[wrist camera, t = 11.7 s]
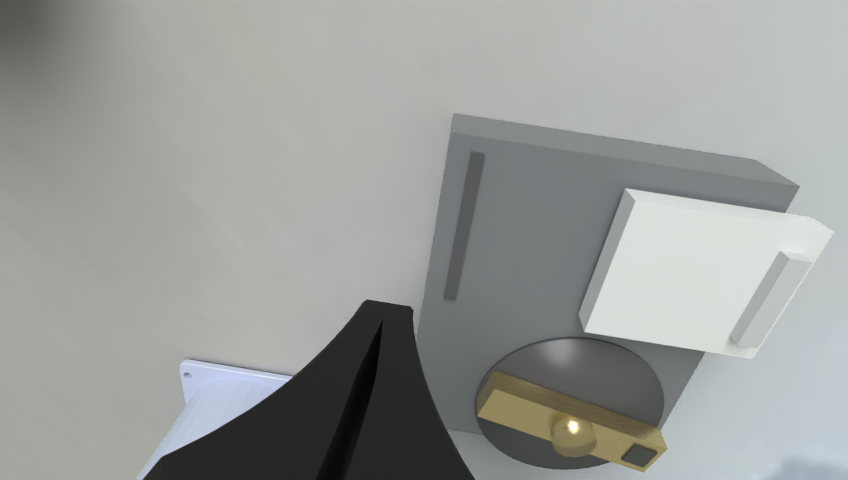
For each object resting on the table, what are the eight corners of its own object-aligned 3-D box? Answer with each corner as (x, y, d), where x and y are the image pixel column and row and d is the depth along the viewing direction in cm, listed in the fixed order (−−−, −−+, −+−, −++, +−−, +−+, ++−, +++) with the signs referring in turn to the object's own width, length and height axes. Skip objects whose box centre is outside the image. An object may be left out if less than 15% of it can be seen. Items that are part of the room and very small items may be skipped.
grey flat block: (617, 433, 28) (633, 482, 25) (407, 399, 28) (400, 444, 25) (755, 160, 19) (803, 188, 17) (453, 113, 20) (451, 133, 17)
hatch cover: (737, 339, 20) (760, 369, 18) (578, 313, 20) (587, 341, 18) (811, 217, 17) (846, 240, 16) (625, 188, 17) (641, 208, 16)
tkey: (476, 396, 23) (477, 426, 21) (493, 370, 22) (495, 399, 20) (635, 451, 24) (647, 483, 22) (658, 427, 23) (672, 459, 21)
